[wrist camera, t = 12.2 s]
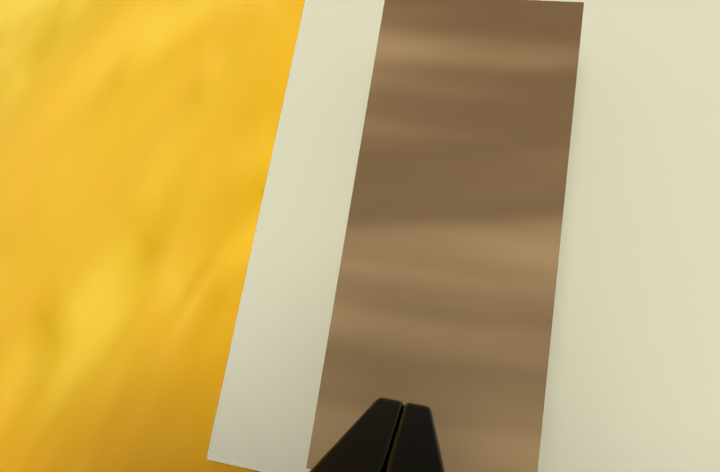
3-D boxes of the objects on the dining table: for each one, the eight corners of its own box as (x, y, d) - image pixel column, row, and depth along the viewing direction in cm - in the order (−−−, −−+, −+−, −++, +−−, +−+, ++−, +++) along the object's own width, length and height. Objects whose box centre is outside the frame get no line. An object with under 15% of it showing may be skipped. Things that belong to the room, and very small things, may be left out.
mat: (944, 622, 15) (956, 628, 14) (212, 457, 18) (206, 459, 18) (945, -247, 19) (954, -260, 19) (361, -238, 23) (359, -248, 23)
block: (385, -6, 17) (306, 467, 15) (584, 2, 16) (533, 513, 14) (398, 49, 20) (333, 454, 17) (567, 59, 19) (523, 491, 16)
